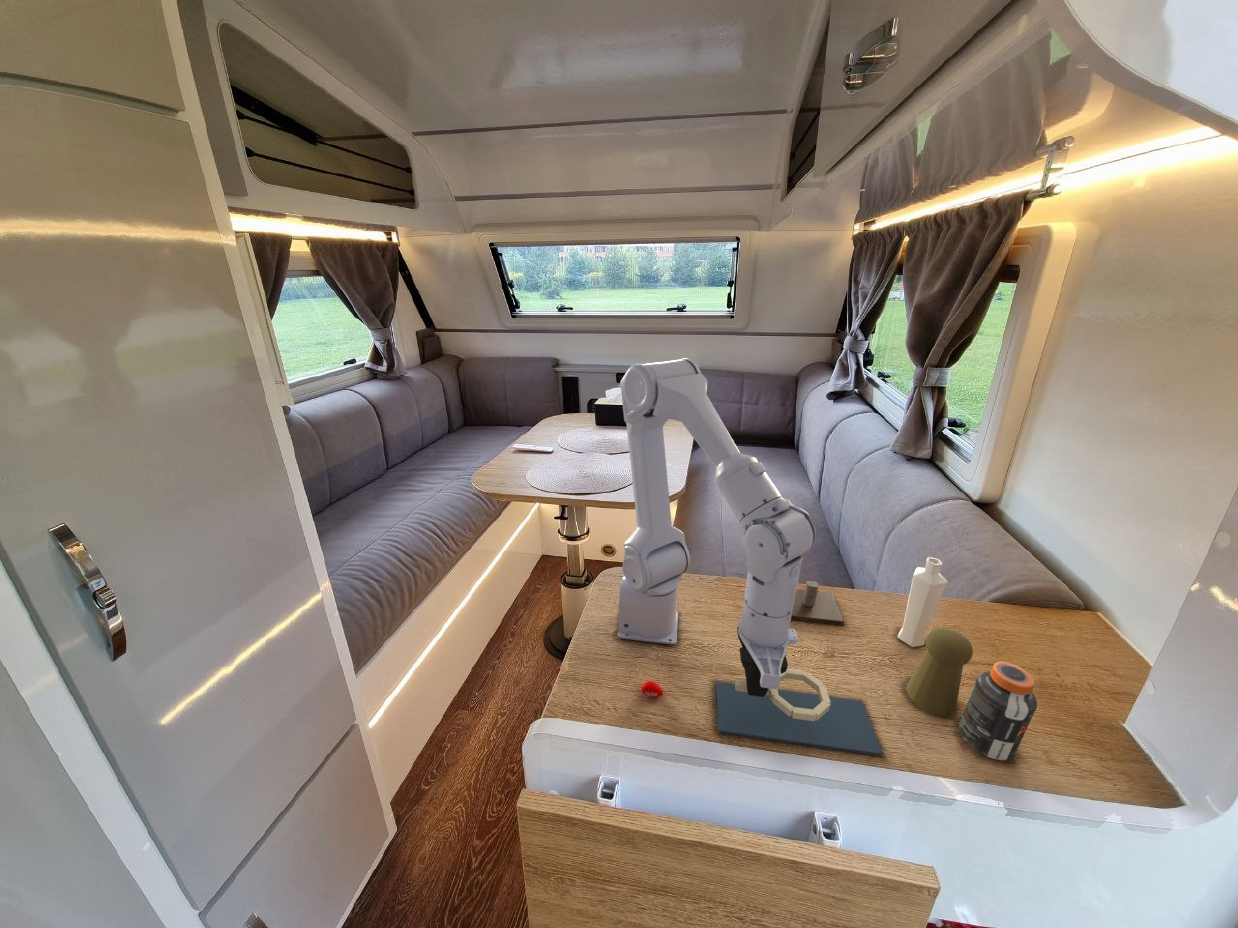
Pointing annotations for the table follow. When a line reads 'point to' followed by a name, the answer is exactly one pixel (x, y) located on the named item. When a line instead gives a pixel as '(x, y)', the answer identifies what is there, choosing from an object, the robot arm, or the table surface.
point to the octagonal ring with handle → (788, 708)
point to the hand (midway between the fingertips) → (754, 685)
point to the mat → (796, 720)
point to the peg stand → (816, 606)
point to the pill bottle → (999, 711)
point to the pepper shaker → (940, 672)
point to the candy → (652, 689)
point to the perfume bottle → (922, 602)
